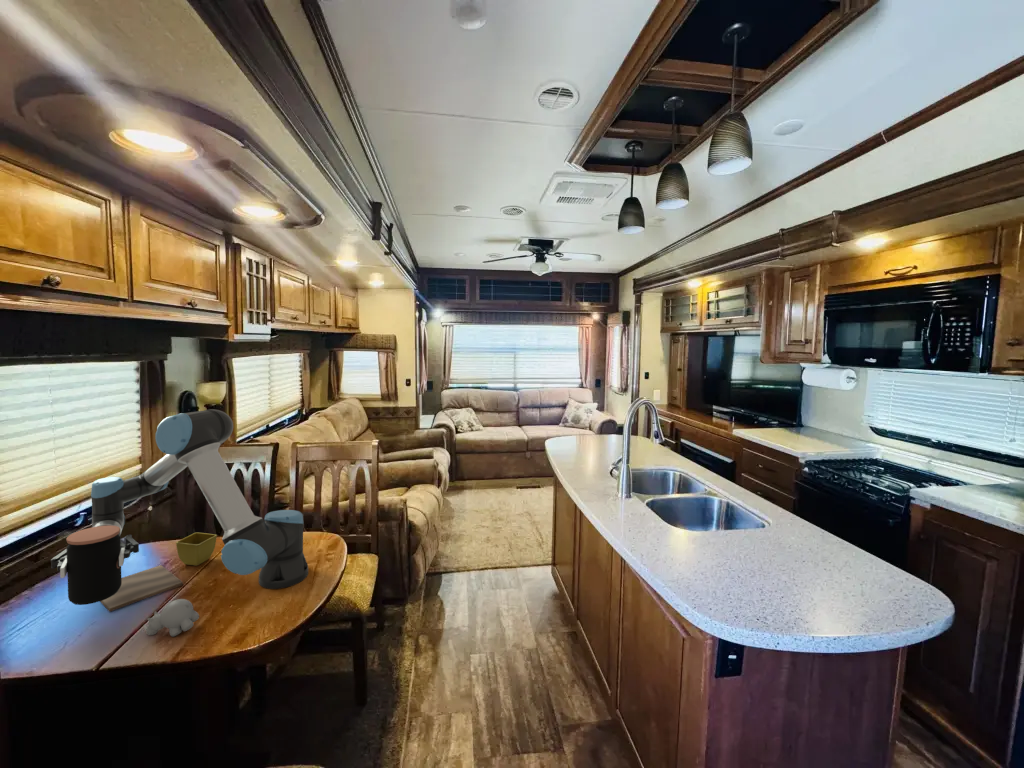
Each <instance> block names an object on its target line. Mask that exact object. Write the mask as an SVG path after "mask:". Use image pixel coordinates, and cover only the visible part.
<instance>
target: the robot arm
mask: <svg viewBox="0 0 1024 768" xmlns="http://www.w3.org/2000/svg"><path fill="white" fill-rule="evenodd" d="M233 432H234V422H233V419H232V418H231V417H230V415H228V414H227V413H226V412H225V411H222V410H219V409H213V408H212V409H205V410H197V411H191V412H190V411H189V412H184V413H182V412H181V413H177V414H174V415H170V416H167V417H165V418H163V419H162V420H161V421H160V423H158V425H157V427H156V432H155V443H156V446H157V447H158V449H159V451H160V452H162V453H164V454H165V455H164V456H163V457H161V458H160V459H158V460H157V461H156V462H155V463H153V465H150V467H149V468H148V469H147V470H145V471H143V473H141V474H140V475H136V476H133V477H129V478H127V479H123V478H122V477H119V476H110V477H109V476H107V477H105V478H104V477H102V478H99V479H96V480H94V481H93V482H92V484H91V489H90V492H91V493H90V498H91V506H92V507H91V508H92V509H91V511H92V512H91V524H92V525H91V528H92V527H98V526H109V525H111V526H118V527H119V528H120V532H119V534H118V535H119V536H120V538H121V534H122V531H123V528H124V525H125V524H126V517H125V514H124V509H125V507H124V505H125V503H129V502H130V501H135V500H136V499H140V498H143V497H146V496H150V495H153V494H156V493H158V492H161V491H164V490H165V489H167V488H168V484H169V482H170V481H171V480H172V479H173V478H175V477H176V476H177V475H179V473H181V472H182V471H184V470H185V469H186V468H187V467H188V470H189V471H190V473H191V475H192V476H193V479H194V480H195V481H196V483H197V485H198V487H199V489H200V490H201V493H202V494H203V496H204V497H205V500H206V502H208V505H209V507H210V508H211V510H212V512H213V514H214V515H215V517H216V519H217V521H218V523H219V524H220V527H221V528H222V530H223V532H224V533H223V536H222V538H221V540H222V542H223V544H224V546H223V548H222V549H221V552H220V553H221V555H220V557H221V558H220V559H221V562H222V564H223V565H224V566H225V568H226V569H227V570H228V571H230V572H231V573H233V574H237V575H239V576H247V575H251V574H253V573H255V572H256V571H258V570H260V571H259V574H258V584H259V586H260V587H262V588H264V589H268V590H269V589H270V590H274V589H275V590H278V589H283V588H284V589H285V588H289V587H292V586H295V585H297V584H300V583H301V582H302V581H304V580H305V579H306V578H307V577H308V575H309V564H308V562H307V560H306V556H305V554H304V524H305V523H304V514H303V513H302V512H301V511H299V510H295V509H280V510H273V511H270V512H268V513H266V514H265V515H264V519H263V517H261V516H257V515H255V514H254V512H253V511H252V509H251V507H250V505H249V504H248V502H247V500H246V498H245V497H244V495H243V493H242V491H241V489H240V487H239V486H238V484H237V482H236V480H235V479H234V477H233V476H232V473H231V471H230V470H229V468H228V466H227V464H226V463H225V461H224V459H223V458H222V456H221V454H220V452H219V448H220V446H221V445H223V443H225V442H226V441H227V440H228V439H229V438H230V437H231V435H232V434H233ZM132 536H133V535H132V534H127V535H126V536H124V537H122V538H121V551H120V555H119V566H121V567H122V566H124V562H125V559H127V558H129V557H131V554H132V553H133V554H135V553H139V551H140V547H139V546H140V545H139V542H137V541H136V540H135V539H134V538H133V537H132ZM50 567H51V568H50V569H57V572H59V573H60V574H59V575H60V577H59V578H60V579H64V578H65V577H66V575H67V548H66V549H64V550H63V551H61V552H60V553H58V554H57V555H56V556H54V557H52V558H51V559H50Z"/></svg>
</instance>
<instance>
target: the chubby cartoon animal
mask: <svg viewBox="0 0 1024 768" xmlns="http://www.w3.org/2000/svg"><path fill="white" fill-rule="evenodd" d="M199 618H200V615H199V612H197V611H196V610H194V606H193V603H192V602H191V601H190V600H189V599H186V598H178V599H175V600H174V599H173V600H172V601H170V602H169V603H167V604H166V605H165V607H163V608H162V610H161V612H160V613H158V612H157V611H154V615H153V616H152V617H148V618H147V621H148V624H147V625H146V624H145V623H144V624H143V629H144V630H145V633H146V635H148V636H153V635H155V634H157V633H158V632H159V631H160V630H162V629H163V628H167V629H168V630H169V635H170V636H171V637H176V636H178V635H180V634H181V633H182V631H183V632H186V631H189V630H190V629H191V628H193V627H194V623H195V622H196V621H197V620H199Z"/></svg>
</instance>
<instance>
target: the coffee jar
mask: <svg viewBox="0 0 1024 768" xmlns="http://www.w3.org/2000/svg"><path fill="white" fill-rule="evenodd" d="M119 532H120V528H119V527H118V526H111V525H109V526H98V527H92V526H91V527H87V528H84V529H81V530H78V531H76V532H73V533H71V534H70V535H68V536H67V537H66V538H65V539H66V542H67V544H68V545H67V546H66V549H67V574H66V575H67V597H68V598H67V599H68V601H69V602H70V603H72V604H74V605H76V606H84V605H91V604H95V603H99V602H100V601H102V600H105V599H107V598H109V597H111V596H113V595H114V594H115V593H117V592H118V590H119V589H120V587H121V585H122V580H121V578H122V566H119V555H120V551H121V535H120V536H119V535H118V534H119Z"/></svg>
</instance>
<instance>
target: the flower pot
mask: <svg viewBox="0 0 1024 768" xmlns="http://www.w3.org/2000/svg"><path fill="white" fill-rule="evenodd" d="M217 536H218V535H217V534H214V533H206V532H205V533H204V532H194V533H192V534H190V535H188V536H186V537H184V538H181V539H179V540H177V541H176V542H175V545H176V549H177V550H176V551H177V556H178V558H179V560H180V562H182V563H183V564H184V565H189V566H195V567H196V566H197V567H198V566H199V565H201V564H203V563H204V562H207V560H209V559H210V557H211V556H212V555H213V553H214V551H215V547H216V543H217Z"/></svg>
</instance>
